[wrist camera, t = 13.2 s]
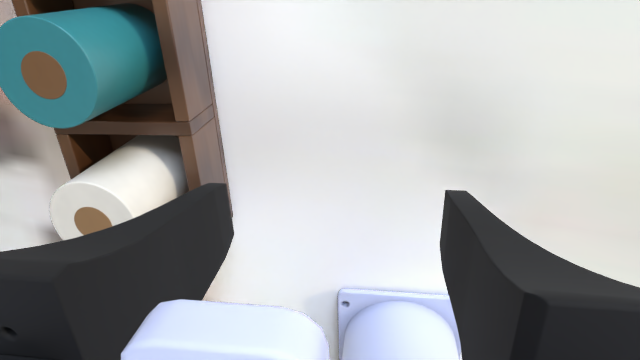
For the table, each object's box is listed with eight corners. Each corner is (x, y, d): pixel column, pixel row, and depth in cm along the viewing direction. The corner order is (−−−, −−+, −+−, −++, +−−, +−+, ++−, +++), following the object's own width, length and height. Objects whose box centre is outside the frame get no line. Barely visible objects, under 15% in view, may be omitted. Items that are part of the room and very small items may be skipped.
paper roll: (182, 88, 22) (109, 129, 16) (108, 88, 23) (13, 128, 17) (166, 1, 20) (78, 14, 15) (87, 4, 21) (-28, 17, 15)
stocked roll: (203, 197, 25) (147, 265, 19) (137, 195, 26) (65, 260, 20) (191, 130, 23) (125, 183, 17) (120, 129, 24) (35, 180, 18)
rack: (233, 216, 26) (212, 249, 23) (125, 211, 27) (91, 242, 24) (169, -214, 17) (120, -255, 14) (11, -196, 18) (-67, -231, 15)
